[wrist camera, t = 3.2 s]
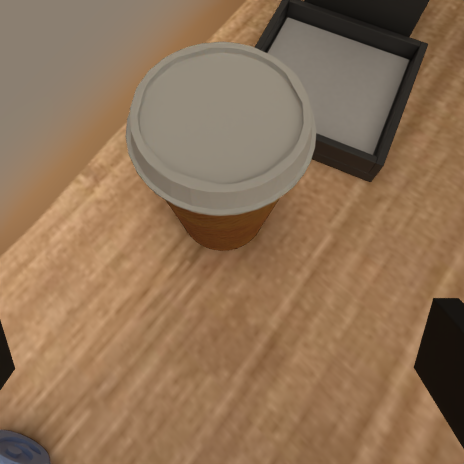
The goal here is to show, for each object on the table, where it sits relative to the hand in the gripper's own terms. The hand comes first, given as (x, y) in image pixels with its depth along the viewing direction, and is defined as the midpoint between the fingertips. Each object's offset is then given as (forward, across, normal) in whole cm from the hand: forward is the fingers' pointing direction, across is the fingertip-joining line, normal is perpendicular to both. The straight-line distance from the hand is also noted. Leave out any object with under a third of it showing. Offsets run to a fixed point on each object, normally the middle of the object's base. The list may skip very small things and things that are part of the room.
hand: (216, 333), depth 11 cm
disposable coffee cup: (+18, 0, -3) cm, 18 cm away
